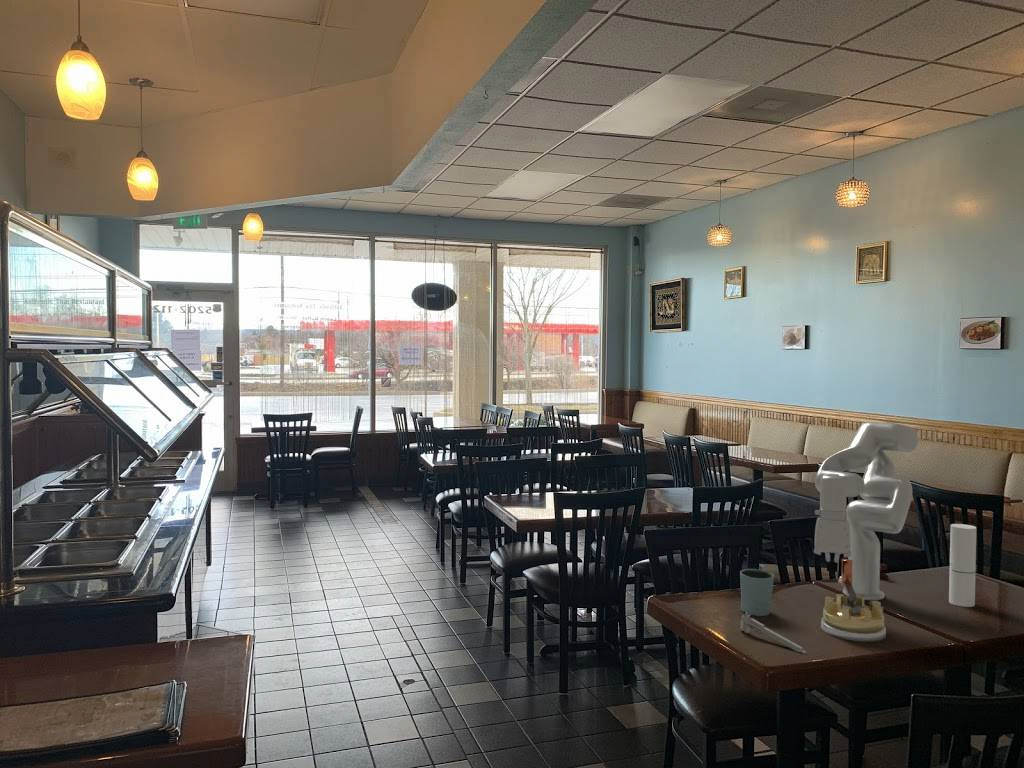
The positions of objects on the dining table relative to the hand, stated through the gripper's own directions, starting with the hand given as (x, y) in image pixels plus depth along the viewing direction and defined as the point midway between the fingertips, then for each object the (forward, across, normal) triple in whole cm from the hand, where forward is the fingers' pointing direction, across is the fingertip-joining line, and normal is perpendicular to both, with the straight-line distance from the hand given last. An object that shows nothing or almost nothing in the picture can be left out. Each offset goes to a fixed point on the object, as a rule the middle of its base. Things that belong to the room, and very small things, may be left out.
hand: (832, 573), depth 232 cm
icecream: (+13, +12, +51) cm, 54 cm away
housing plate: (+12, +6, -15) cm, 20 cm away
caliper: (+12, -15, -34) cm, 39 cm away
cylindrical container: (+12, +38, +27) cm, 49 cm away
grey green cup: (+12, -21, -9) cm, 26 cm away
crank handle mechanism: (+10, +5, -12) cm, 16 cm away
